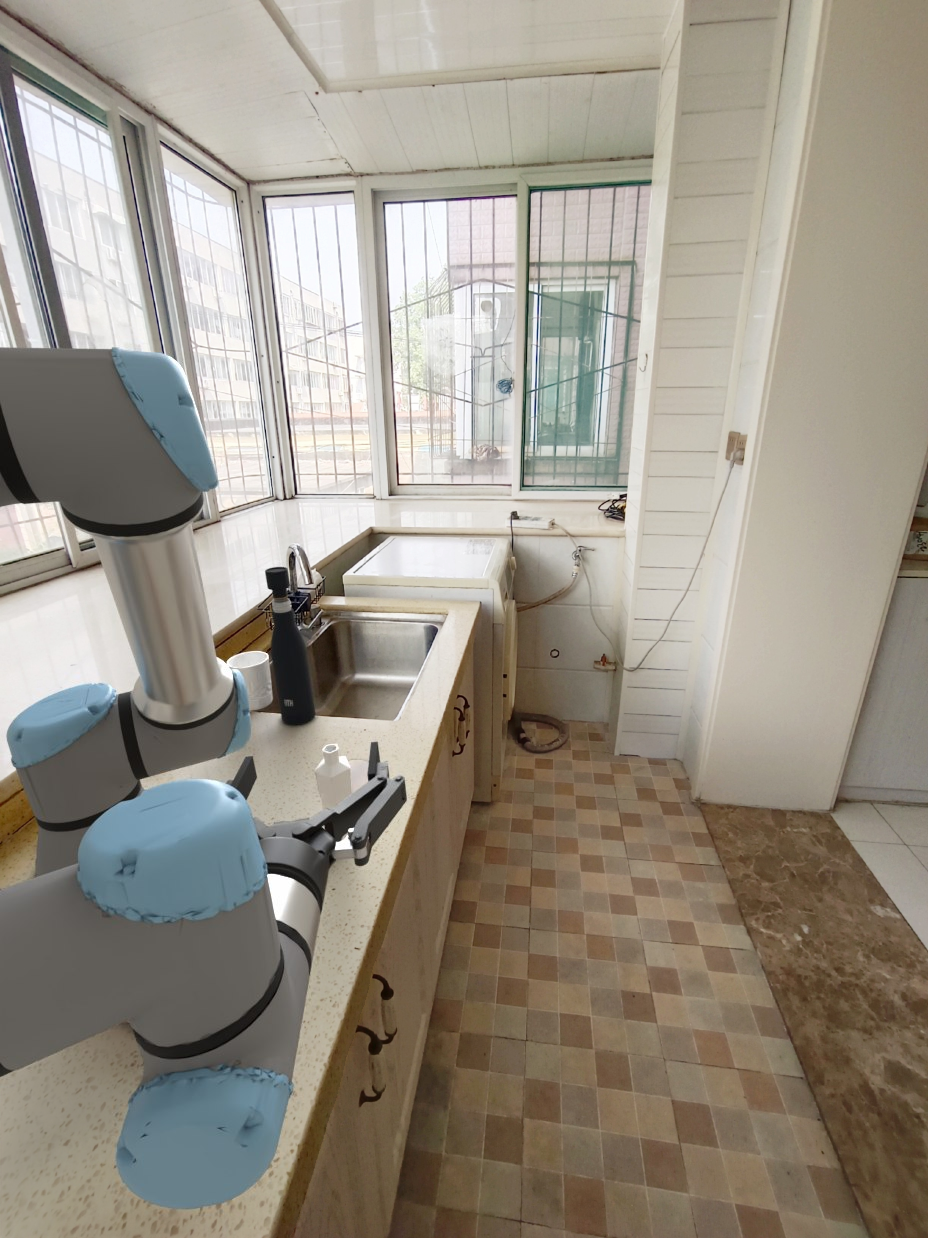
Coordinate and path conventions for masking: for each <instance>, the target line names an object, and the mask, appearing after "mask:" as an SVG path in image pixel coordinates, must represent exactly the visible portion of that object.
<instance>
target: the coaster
mask: <svg viewBox="0 0 928 1238" xmlns="http://www.w3.org/2000/svg"><path fill="white" fill-rule="evenodd" d="M347 760H348V759H347ZM348 763H349V765H350V773H351V794H352V793H354V792H355V791H356V790H358V789H359V788H361V787H362V786H363V785H365V784H366V783H367V782H368V775H367V774H368V765H369V760H364V759H349V760H348Z"/></svg>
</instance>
